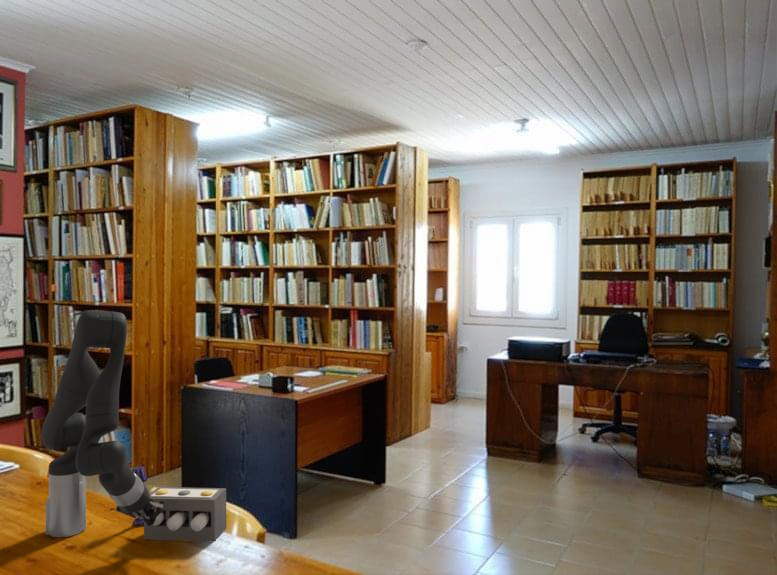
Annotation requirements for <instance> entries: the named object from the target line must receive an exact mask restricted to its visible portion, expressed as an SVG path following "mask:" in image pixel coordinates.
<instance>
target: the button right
mask: <svg viewBox="0 0 777 575" xmlns="http://www.w3.org/2000/svg"><path fill="white" fill-rule="evenodd" d="M209 519H210V512H208V511H203V512H202V513H199V514H198V515H197V516H196V517H195V518H194V519H193V520H192V521H191V528H192V529H193V530H194V531H200V530H202V529H203V528H204V527H205V525H206V524H207V523H208V521H209Z"/></svg>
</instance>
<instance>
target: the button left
mask: <svg viewBox="0 0 777 575" xmlns="http://www.w3.org/2000/svg"><path fill="white" fill-rule="evenodd" d="M165 519H166V510H162V512H161V513H160V514H159V515H158V516H157V517H156V520H155V522H154V523H153V524H151V525H154V526H157V525H159V524H160V523H161V522H162V521H163V520H165Z"/></svg>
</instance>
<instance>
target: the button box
mask: <svg viewBox="0 0 777 575" xmlns="http://www.w3.org/2000/svg"><path fill="white" fill-rule="evenodd" d="M149 494H150V497H151V498H152V499H154V501H155V502H156V503H157V502H160V501H163V502H165V504H164V507H163V510H166V519H165V520H163V521H162V522H161V523H160V524H159V525H157V526H154V525H151V524H147V523H146V522H145V521H144V526H143V540H144V539H149V540H150V541H175V540H184V541H185V542H209V541H215V542H217V540H218V539H217V538H220V536H221V535H222V534H223V533H224V531H226V529H227V488H223V487H221V488H218V487H174V486H158V487H157V488H155V489H154V490H153V491H150V492H149ZM152 509H154V507H152ZM179 511H187V519H186V520H185V522H184V524H183V525H182V526H181V527H179V528H178V529H177V530H175V531H172V530H170V529H169V528H168V526H167V521H168V519H169V518H171V517H172V516H173V515H174V514H175V513H177V512H179ZM203 511H208V512H210V519H209V521H208V523H207V524H206V525H205V527H204V528H203V529H202V530H200V531H194V530H193V529H192V528H191V521H192V520H193V519H194V518H195V517H196V516H197V515H198V514H199V513H202V512H203ZM216 539H217V540H216ZM186 540H188V541H186ZM184 541H183V542H184Z"/></svg>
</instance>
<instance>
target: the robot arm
mask: <svg viewBox="0 0 777 575" xmlns="http://www.w3.org/2000/svg"><path fill="white" fill-rule="evenodd" d="M127 333H128V322H127V317H126V316H125V314H124V313H123V312H118V311H108V310H99V309H98V310H97V309H95V310H94V309H89V310H83V311H82V312H81V313H80V315H79V317H78V319H77V322H76V325H75V329H74V333H73V339H72V343H71V348H70V351H69V355H68V358H67V361H66V364H65V366H64V369H63V372H62V374H61V377H60V380H59V383H58V387H57V390H56V394H55V397H54V400H53V402H52V404H51V406H50V409H49V411H48V413H47V415H46V416H45V420H44V421H43V423H42V427H41V434H40V436H41V443H42V444H43V446H44V447H45V448H46V449H48V450H60V449H65V448H68V449H67V450H66V451H65V452H64V453H63V454H61V455H60V456H59V457H56V458H55V459H53V460H52V461H50V462H49V464H48V499H46V501H45V535H47V536H50V537H53V538H67V537H72V536H75V535H78V534H81V533H82V532H84V531H85V530H86V529H87V506H86V505H87V501H86V500H87V498H86V497H87V496H86V495H87V493H86V490H87V489H86V488H87V487H86V486H87V485H86V484H87V483H86V477H93V476H98V480H99V483H100V485H101V486H102V487H103V489H104V490H105V491H106V492H107V493H108V496H109V497H110V499H111V500H112V501H113V502H114V503H115V504H116V507H115V511H116V512H118V513H121V514H124V515H126V516H128V517H131V518H133V519H134V518H135V519H136V518H137V516H138V517H139V518H140V519H143V520H144V521H145V522H146V523H147V524H153V523H154V522H155V520H156V517H157V516H158V515H159V514H160V513H161V512H162V510H163V507H164V504H165V502H163V501H160V502H157V503H156V502H155V501H154V499H152V498H151V497H150V491H149V488H148V487H147V485H145V484H144V483H145V482H144V483H143V482H142V481H141V479H140V478H139V477H138V476H137V475H136V474H135V473H134V472H133V468H131V467H130V464H129V460H128V455H127V449H126V448H127V447H126V446H125V445H124V444H123V443H122V442H121V441H118V440H109V441H104V442H100V440H101V438H102V437H104V436H105V435H108V434H109V433H113V432H114V431H116V430H117V429H118V428H119V421H120V419H119V418H120V414H119V413H120V410H119V409H120V400H119V399H120V386H121V379H122V378H121V377H122V372H123V367H124V366H123V365H124V360H125V352H126V345H127V336H128V335H127ZM89 348H90V349H91V348H92V349H93V348H94V349H108V350H110V352H109V358H108V361H107V363H106V365H105V367H104V368H103V370H102V371H100V369H99V367H98V365H97V364H96V362H95V361H94V359H93V358H92V357H91V355H90V353H89V351H88V349H89ZM84 407H85V415H84V413H82V412H80V410H82V409H83V408H84ZM152 507H154V509H152Z"/></svg>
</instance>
